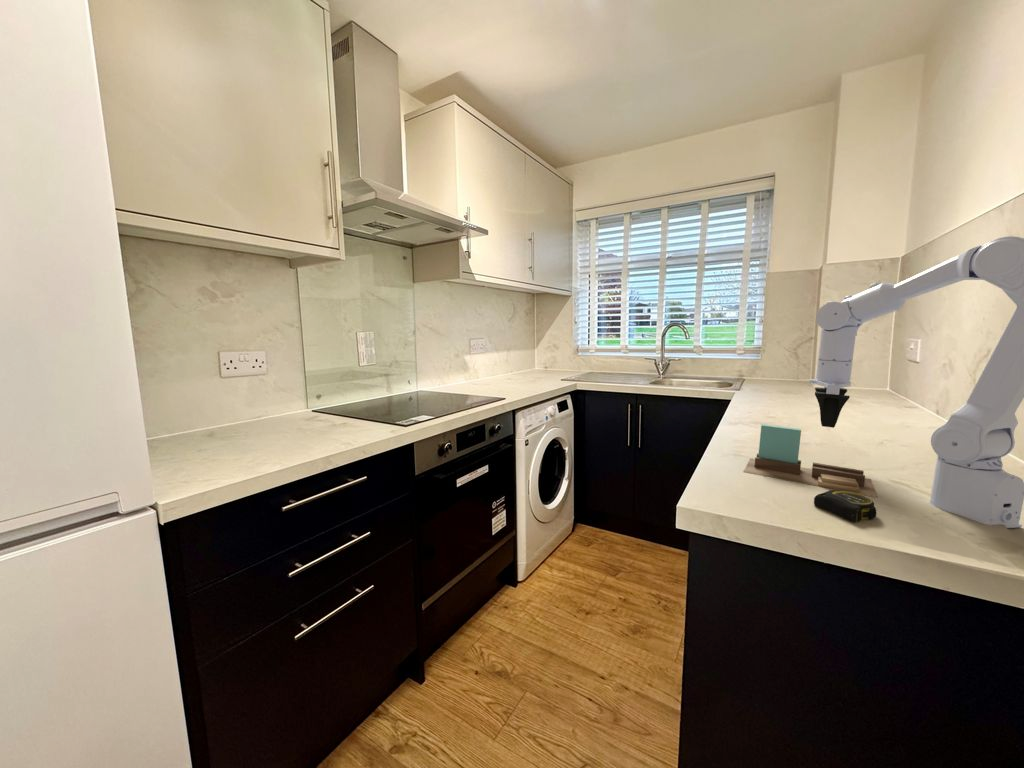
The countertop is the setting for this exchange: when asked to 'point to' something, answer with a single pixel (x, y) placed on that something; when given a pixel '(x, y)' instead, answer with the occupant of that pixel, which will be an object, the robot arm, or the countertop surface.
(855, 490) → the lower oak offcut
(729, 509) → the countertop surface
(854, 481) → the upper oak offcut
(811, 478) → the walnut rack
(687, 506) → the countertop surface
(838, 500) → the tape measure
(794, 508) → the countertop surface
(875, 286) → the robot arm
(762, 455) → the teal sheet
